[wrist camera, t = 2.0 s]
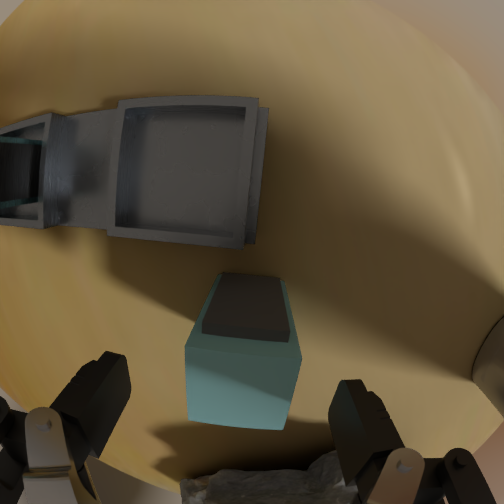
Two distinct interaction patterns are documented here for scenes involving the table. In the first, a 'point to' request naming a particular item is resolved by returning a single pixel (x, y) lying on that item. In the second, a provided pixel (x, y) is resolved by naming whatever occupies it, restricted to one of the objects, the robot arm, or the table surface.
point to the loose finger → (243, 354)
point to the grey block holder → (140, 170)
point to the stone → (272, 486)
